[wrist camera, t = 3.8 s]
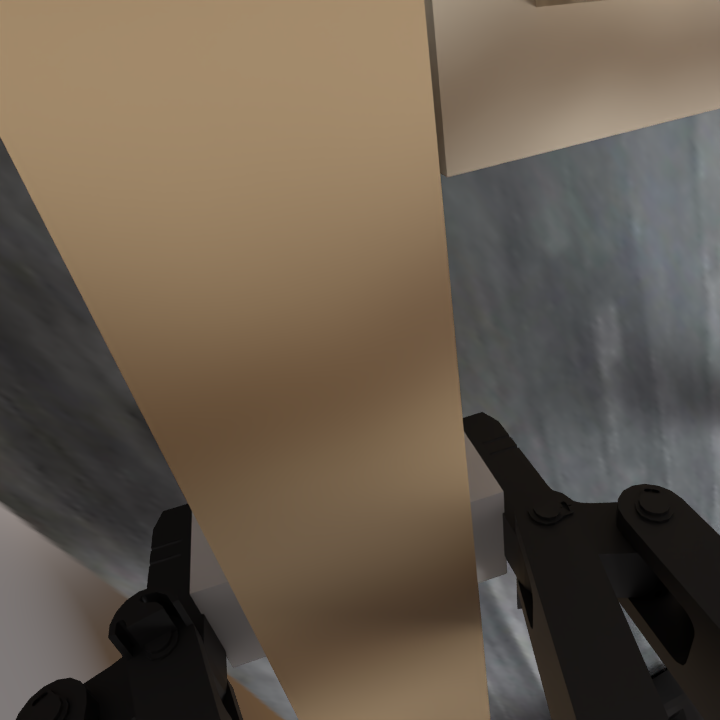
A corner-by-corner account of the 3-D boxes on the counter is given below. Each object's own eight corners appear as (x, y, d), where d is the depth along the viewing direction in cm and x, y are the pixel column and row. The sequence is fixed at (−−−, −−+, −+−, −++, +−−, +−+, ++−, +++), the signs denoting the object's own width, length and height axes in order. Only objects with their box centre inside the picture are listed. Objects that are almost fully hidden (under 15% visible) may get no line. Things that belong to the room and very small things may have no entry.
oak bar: (441, 669, 21) (500, 826, 17) (343, 705, 21) (378, 875, 16) (293, -155, 8) (391, -369, 4) (16, -107, 8) (-217, -289, 3)
